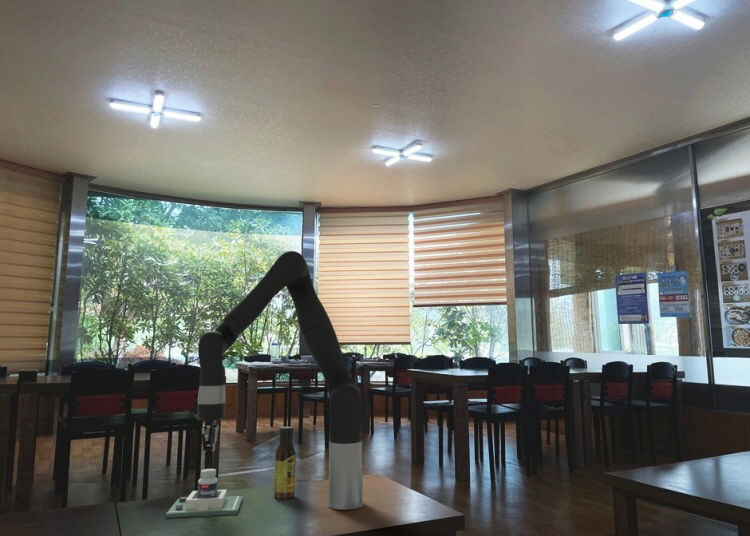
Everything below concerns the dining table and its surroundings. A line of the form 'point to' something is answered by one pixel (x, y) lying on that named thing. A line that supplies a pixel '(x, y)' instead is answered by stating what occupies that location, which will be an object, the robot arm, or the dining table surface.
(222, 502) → the board
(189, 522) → the dining table surface
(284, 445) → the sauce bottle
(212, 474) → the pill bottle
